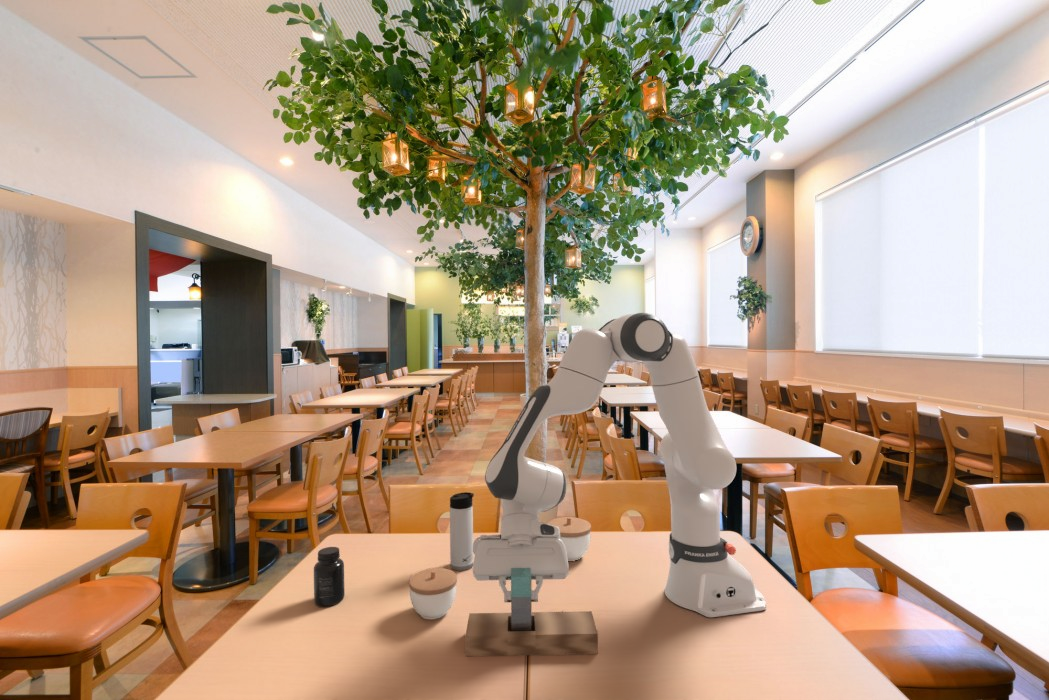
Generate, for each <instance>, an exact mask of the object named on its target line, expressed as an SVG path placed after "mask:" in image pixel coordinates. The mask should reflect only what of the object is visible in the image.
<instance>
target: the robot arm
mask: <svg viewBox="0 0 1049 700" xmlns="http://www.w3.org/2000/svg"><path fill="white" fill-rule="evenodd" d="M616 362H617V363H618V362H622V363H623V362H624V363H637V362H641V363H643V364H644V366H645V368H646V369H647V372H648V375H649V379H650V383H651V387H652V391H653V395H654V399H655V403H656V406H657V411H658V415H659V417H660V419H661V420H662V422H663V424H664V426H665V428H666V430H667V433H665V435H664V436H663V437H662V439H661V441H660V446H659V452H660V456H661V458H662V461H663V465H664V471H665V476H666V482H667V489H668V493H669V498H670V526H671V527H670V529H671V530H670V531H671V532H670V534H669V541H668V554H669V559H670V562H669V569H668V575H667V580H666V584H665V588H664V595H665V596H666V597H667V599H668V600H669V601H670V602H671V603H673V604H675V605H677V606H680V607H681V608H684V609H686V610H687V609H688V610H691V611H694V612H697V613H699V614H700V615H701V616H705V617H707V618H716V617H717V618H718V617H725V616H730V615H731V616H732V615H739V614H745V613H753V612H759V611H765V610H766V609H767V602H766V599H765V597H764V595H763V594H762V593H761V591H759V589H757V587H755V583H754V579H753V578H752V575H751V573H750V572H749V570H747V569H746V568H745V567H744V566H743V565H742V564H741V563H740V562H739V561H738V560H736V559H735V558H733V557H732V556H734V555H735V554H736V553H737V550H736V549H737V548H736V547H735V546H733V544H731V543H728V541H727V540H726V539H724V538H722V537H721V536H720V535H721V533H720V532H721V527H720V526H721V517H720V516H721V514H720V513H721V512H720V511H721V510H720V505H719V502H718V500H717V498H716V495H715V492H714V490H715V491H716V490H723V489H724V488H727V487H728V486H729V485H730V484H731V483H732V482H733V480H734V479H735V477H736V474H737V462H736V459H735V457H734V456H733V454H732V453H731V452H730V450H729V449H728V447H727V446H726V444H725V442H724V440H723V438H722V436H721V434H720V430H719V429H718V427H717V424H716V423H715V421H714V419H713V417H712V415H711V412H710V409H709V408H708V405H707V400H706V397H705V394H704V390H703V389H704V388H703V386H702V381H701V379H700V375H699V372H698V371H699V370H698V368H697V364H696V361H695V358H694V356H693V354H692V351H691V349H690V346H689V345H688V343H687V341H686V339H685V338H684V337H683V336H682V335H680V334H678V333H671V332H670V330H669V329H668V327H667V326H666V323H664V321H663V320H662V319H660V318H659V317H658V316H656V315H655V314H652V313H648V312H637V313H629V314H625V315H622V316H619V317H618V318H615V319H614V318H613V319H611V320H609V321H608V322H606V323H605V324H604V325H602V326H601V327H600V328H599V329H595V328H583V329H580V330H579V331H577V332H576V333H574V335H573V337H572V339H571V340H570V342H569V344H568V346H567V348H566V349H565V351H564V354H563V355H562V358H561V360H560V363H559V365H558V368H557V370H556V372H555V374H554V375H553V377H552V378H551V379H550V380H549V381H548V382H547V383H546V384H544V385H539V386H538V387H537V388H536V389H535V390H534V391H533V393H531V396H530V397H529V398H528V400H527V402H526V403H525V405H524V407H523V409H522V410H521V411H520V413H519V415H518V417H517V419H516V420H515V421H514V423H513V426H512V427H511V429H510V431H509V433H508V434H507V436H506V438H505V439H504V441H503V443H502V445H501V446H500V448H499V449H498V450H497V452H496V453H495V454H494V455H493V456H492V458H491V459H490V461H489V463H488V465H487V467H486V470H485V474H484V481H485V483H486V486H487V488H488V490H489V492H490V493H491V494H492V496H493V497H494V498H496V499H501V502H500V503H501V508H502V515H501V518H500V534H491V535H490V534H488V535H487V534H481V535H480V536H479V537H476V538H475V540H473V555H474V557H473V566H472V575H473V578H474V579H476V581H478V582H479V581H480V582H481V581H498V584H499V587H500V589H501V591H502V593H503V595H504V596H503V599H504V600H503V602H504V603H511V590H508V589H507V587H506V585H507V581H511V568H530V569H531V581H532V580H535V585H536V587H535V589H534V590H532V589H531V603H537V602H539V592H540V591H541V588H542V586H543V584H544V583H543V582H544V580H565V579H567V577H568V575H569V571H570V567H569V562H568V558H567V553H566V549H565V546H564V543H563V542H562V541H561V540H560V529H559V528H558V527H557V526H553V525H550V524H548V523H546V522H542V521H541V520H540V516H539V515H540V514H541V513H542V512H543V513H544V512H545V513H546V512H548V511H550V510H551V509H554V508H555V507H558V505H560V504H561V503H562V502H563V500H564V499H565V497H566V493H567V480H566V476H565V473H564V471H563V470H562V469H561V468H559V467H558V466H556V465H552V464H549V463H547V462H543V461H539V460H536V459H533V458H531V457H527V456H525V453H526V450H527V449H528V448H529V445H530V444H531V443H532V440H533V438H534V436H535V434H536V433H537V431H538V430H539V428H540V426H541V425H542V423H544V421H546V420H548V419H549V418H552V417H555V416H563V415H564V416H566V415H567V416H569V415H577V414H581V413H584V412H586V411H589V410H590V409H591V408H593V407H594V406H595V405H596V404H597V402H598V400H599V398H600V396H601V394H602V391H603V388H604V385H605V383H606V379H607V377H608V373H609V371H610V369H611V368H612V366H613V365H614V364H615V363H616Z"/></svg>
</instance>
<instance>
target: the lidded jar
mask: <svg viewBox="0 0 1049 700" xmlns="http://www.w3.org/2000/svg"><path fill="white" fill-rule="evenodd" d="M457 583H458V577H457V574H456V572H455V571H453V570H451V569H449V568H443V567H434V568H433V567H431V568H427V569H422V570H420V571H417V572H416V573H415V574H413V575H412V576H411V577H410V578H409V581H408V584H409V585H408V587H409V596H410V602H411V605H412V607H413V609H414V610H415V611H416V613H417V614H419V615H420V617H421V618H422V619H424V620H430V621H432V620H438V619H441V618H443V617H444V616H445V615H447V613H448V611H449V610H450V609H451V608H452V606H453V604H454V602H455V600H456V596H457V586H458V585H457Z"/></svg>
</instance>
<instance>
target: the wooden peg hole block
mask: <svg viewBox="0 0 1049 700" xmlns="http://www.w3.org/2000/svg"><path fill="white" fill-rule="evenodd" d="M598 635H599V634H598V629H597V626H596V623H595V619H594V614H593V611H591V610H589V611H586V610H585V611H579V610H578V611H539V612H538V611H535V612H534V611H533V612H532V611H531V631H512V630H511V612H474V613H472V612H471V613H468V619H467V624H466V630H465V637H464V641H465V657H488V656H489V657H493V656H494V657H499V656H503V657H504V656H545V655H546V656H547V655H549V656H550V655H551V656H552V655H556V656H557V655H598V654H599V644H598V643H599V642H598V641H599V636H598Z"/></svg>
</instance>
